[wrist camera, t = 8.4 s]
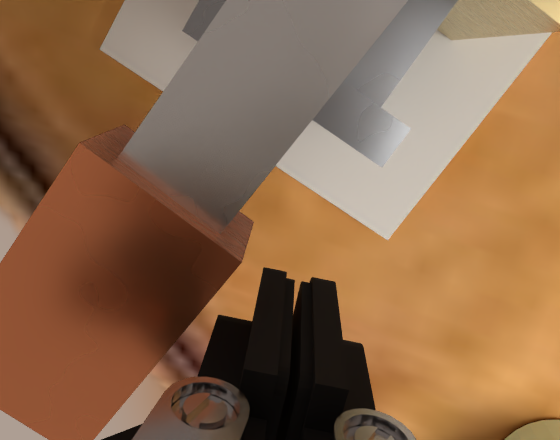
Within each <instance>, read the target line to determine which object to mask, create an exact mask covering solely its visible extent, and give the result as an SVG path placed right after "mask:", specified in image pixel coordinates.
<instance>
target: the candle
mask: <svg viewBox="0 0 560 440" xmlns="http://www.w3.org/2000/svg"><path fill="white" fill-rule="evenodd" d="M505 440H560V420H541V421H537V422H534V423H530V424H527V425H525V426H523V427H521V428H519V429H517V430H515V431H514V432H513V433H511V434H510V435H509V436H508V437H507V438H505Z"/></svg>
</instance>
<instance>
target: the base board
mask: <svg viewBox="0 0 560 440" xmlns="http://www.w3.org/2000/svg"><path fill="white" fill-rule="evenodd" d="M198 1H199V0H125V1H124V3H123V5H122V7H121V8H120V10H119V12H118V14H117V16H116V18H115V20H114V22H113V24H112V26H111V28H110V30H109V32H108V34H107V36H106V38H105V39H104V41H103V43H102V45H101V47H100V50H101V51H103V52H104V53H106V54H107V55H109V56H110V57H112V58H113V59H115V60H116V61H118V62H119V63H121V64H122V65H124V66H125V67H127V68H128V69H130V70H131V71H133V72H134V73H136V74H137V75H139V76H140V77H142V78H143V79H145V80H146V81H148V82H149V83H151V84H152V85H154V86H156V87H157V88H159V89H160V90H162V91H164V90H165V88H166V87H167V86H168V84H169V83H170V81H171V80H172V78H173V77H174V75H175V74H176V73H177V71H178V70H179V68H180V67H181V65H182V64H183V62H184V61H185V59H186V58H187V57H188V55H189V54H190V52H191V51H192V49H193V48H194V46H195V45H196V44H197V42H198V41H196V40H195V39H193V38H192V37H190V36H189V35H188V34H186V33H185V32H183V31H182V30H183V28H184V26H185V25H186V23H187V21H188V19H189V17H190V16H191V14H192V12H193V10H194V9H195V7H196V5H197V3H198ZM551 33H552V32H549V33H537V34H524V35H512V36H499V37H487V38H474V39H462V40H450V39H449V38H448V37H446V36H445V35H444V34H442V33H441V32H440V31H438V30H436V32H435V33H434V34H433V36H432V37H431V39H430V40H429V41H428V43H427V44H426V45H425V47H424V48H423V50H422V51H421V52H420V54H419V55H418V57H417V58H416V59H415V61H414V62H413V64H412V65H411V66H410V68H409V69H408V70H407V72H406V73H405V75H404V76H403V77H402V79H401V80H400V82H399V83H398V84H397V86H396V87H395V89H394V90H393V91H392V93H391V94H390V95H389V97H388V98H387V100H386V101H385V102H384V104H383V105H382V107H381V108H383V109H384V110H386V111H387V112H388V113H390V114H391V115H393V116H394V117H395V118H397V119H398V120H399V121H401V122H402V123H404V124H405V125H406V126H408V127H409V128H411V130H410V131H409V132H408V134H407V135H406V136H405V138H404V139H403V140H402V142H401V143H400V144H399V146H398V147H397V148H396V150H395V151H394V152H393V154H392V155H391V156H390V158H389V159H388V160H387V162H386V163H385V164H384V166H383V167H380V166H379V165H377V164H376V163H374V162H373V161H371V160H370V159H369V158H367V157H366V156H364V155H363V154H361V153H360V152H358V151H357V150H355V149H354V148H352V147H351V146H350V145H348V144H347V143H345V142H344V141H342V140H341V139H339V138H338V137H336V136H335V135H333V134H332V133H331V132H329V131H328V130H326V129H325V128H323V127H322V126H320V125H319V124H317V123H316V122H315V121H313V120H312V121H311V122H310V123H309V125H308V126H307V127H306V128H305V130H304V131H303V132H302V133H301V134H300V136H299V137H298V138H297V139H296V141H295V142H294V143H293V144H292V146H291V147H290V148H289V149H288V151H287V152H286V153H285V154H284V156H283V157H282V158H281V159H280V161H279V162H278V163H277V164H276V167H278V168H279V169H281V170H282V171H284V172H285V173H287V174H288V175H290V176H291V177H293V178H294V179H296V180H297V181H299V182H300V183H302V184H303V185H305V186H306V187H308V188H309V189H311V190H312V191H314V192H315V193H317V194H319V195H320V196H322V197H323V198H325V199H326V200H328V201H329V202H331V203H332V204H334V205H335V206H337V207H338V208H340V209H341V210H343V211H344V212H346V213H347V214H349V215H350V216H352V217H353V218H355V219H356V220H358V221H359V222H361V223H362V224H364V225H365V226H367V227H368V228H370V229H371V230H373V231H374V232H376V233H377V234H379V235H380V236H382V237H383V238H385V239H386V240H388V239H389V238H390V237H391V235H392V234H393V233H394V232H395V230H396V229H397V228H398V226H399V225H400V224H401V223H402V221H403V220H404V219H405V218H406V216H407V215H408V214H409V213H410V211H411V210H412V209H413V208H414V206H415V205H416V204H417V203H418V201H419V200H420V199H421V197H422V196H423V195H424V194H425V192H426V191H427V190H428V189H429V187H430V186H431V185H432V184H433V182H434V181H435V180H436V179H437V177H438V176H439V175H440V173H441V172H442V171H443V170H444V168H445V167H446V166H447V165H448V163H449V162H450V161H451V160H452V158H453V157H454V156H455V155H456V153H457V152H458V151H459V149H460V148H461V147H462V146H463V144H464V143H465V142H466V141H467V139H468V138H469V137H470V136H471V134H472V133H473V132H474V131H475V129H476V128H477V127H478V126H479V124H480V123H481V122H482V120H483V119H484V118H485V117H486V115H487V114H488V113H489V112H490V110H491V109H492V108H493V107H494V105H495V104H496V103H497V102H498V100H499V99H500V98H501V96H502V95H503V94H504V93H505V91H506V90H507V89H508V88H509V86H510V85H511V84H512V83H513V81H514V80H515V79H516V78H517V76H518V75H519V74H520V72H521V71H522V70H523V69H524V67H525V66H526V65H527V64H528V62H529V61H530V60H531V59H532V57H533V56H534V55H535V54H536V52H537V51H538V50H539V49H540V47H541V46H542V45H543V43H544V42H545V41H546V40H547V38H548V37H549V36H550V35H551Z"/></svg>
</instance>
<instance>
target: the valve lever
mask: <svg viewBox="0 0 560 440" xmlns="http://www.w3.org/2000/svg"><path fill="white" fill-rule="evenodd" d="M407 1H408V0H226V2H225V3H224V4H223V6H222V7H221V9H220V10H219V12H218V13H217V15H216V16H215V17H214V19H213V20H212V22H211V23H210V25H209V26H208V28H207V29H206V31H205V32H204V33H203V35H202V36H201V38H200V39H199V41H198V42H197V44H196V45H195V46H194V48H193V49H192V51H191V52H190V54H189V55H188V57H187V58H186V59H185V61H184V62H183V64H182V65H181V67H180V68H179V70H178V71H177V73H176V74H175V75H174V77H173V78H172V80H171V81H170V83H169V84H168V86H167V87H166V88H165V90H164V91H163V93H162V94H161V96H160V97H159V99H158V100H157V101H156V103H155V104H154V106H153V107H152V109H151V110H150V112H149V113H148V115H147V116H146V117H145V119H144V120H143V122H142V123H141V125H140V126H139V128H138V129H137V130H136V132H134V131H132V130H131V129H130V128H128V127H127V126H126V125H122V126H120V127H117V128H115V129H112V130H110V131H107V132H105V133H102V134H100V135H98V136H95V137H93V138H90V139H88V140H85V141H83V142H80V143H79V144H78V146H77V147H76V149H75V150H74V152H73V153H72V155H71V156H70V158H69V159H68V161H67V162H66V164H65V165H64V167H63V168H62V170H61V171H60V173H59V175H58V176H57V178H56V179H55V181H54V182H53V184H52V185H51V187H50V188H49V190H48V191H47V193H46V194H45V196H44V197H43V199H42V200H41V202H40V203H39V205H38V206H37V208H36V210H35V211H34V213H33V214H32V216H31V217H30V219H29V220H28V222H27V223H26V225H25V226H24V228H23V229H22V231H21V232H20V234H19V235H18V237H17V238H16V240H15V242H14V243H13V245H12V246H11V248H10V249H9V251H8V252H7V254H6V255H5V257H4V258H3V260H2V261H1V263H0V410H2V411H3V412H5V413H6V414H8V415H10V416H11V417H13V418H15V419H16V420H18V421H19V422H21V423H23V424H24V425H26V426H27V427H29V428H31V429H32V430H34V431H35V432H37V433H39V434H40V435H42V436H44V437H45V438H47V439H48V440H93V439H95V437H96V436H97V435H98V434H99V432H100V431H101V430H102V429H103V428H104V427H105V425H106V424H107V423H108V422H109V421H110V419H111V418H112V417H113V416H114V415H115V413H116V412H117V411H118V410H119V409H120V407H121V406H122V405H123V404H124V403H125V401H126V400H127V399H128V398H129V397H130V395H131V394H132V393H133V392H134V391H135V389H136V388H137V387H138V386H139V385H140V383H141V382H142V381H143V380H144V379H145V377H146V376H147V375H148V374H149V373H150V372H151V370H152V369H153V368H154V367H155V366H156V364H157V363H158V362H159V361H160V360H161V358H162V357H163V356H164V355H165V354H166V352H167V351H168V350H169V349H170V348H171V346H172V345H173V344H174V343H175V342H176V340H177V339H178V338H179V337H180V336H181V334H182V333H183V332H184V331H185V330H186V328H187V327H188V326H189V325H190V324H191V322H192V321H193V320H194V319H195V318H196V316H197V315H198V314H199V313H200V312H201V311H202V309H203V308H204V307H205V306H206V305H207V303H208V302H209V301H210V300H211V299H212V297H213V296H214V295H215V294H216V293H217V291H218V290H219V289H220V288H221V287H222V285H223V284H224V283H225V282H226V281H227V279H228V278H229V277H230V276H231V275H232V273H233V272H234V271H235V270H236V269H237V267H238V266H239V265H240V264H241V263H242V260H243V257H244V253H245V250H246V246H247V243H248V240H249V236H250V233H251V230H252V226H253V223H254V222H253V221H252V220H250V219H249V218H248V217H246V216H245V215H244V214H242V213H241V212H240V211H239V210H240V209H241V208H242V207H243V205H244V204H245V203H246V202H247V201H248V199H249V198H250V197H251V196H252V194H253V193H254V192H255V191H256V189H257V188H258V187H259V186H260V184H261V183H262V182H263V181H264V179H265V178H266V177H267V176H268V174H269V173H270V172H271V171H272V169H273V168H274V167H275V166H276V164H277V163H278V162H279V161H280V159H281V158H282V157H283V156H284V154H285V153H286V152H287V151H288V149H289V148H290V147H291V146H292V144H293V143H294V142H295V141H296V139H297V138H298V137H299V136H300V134H301V133H302V132H303V131H304V130H305V128H306V127H307V126H308V125H309V123H310V122H311V121H312V120H313V118H314V117H315V116H316V115H317V113H318V112H319V111H320V110H321V108H322V107H323V106H324V105H325V103H326V102H327V101H328V100H329V98H330V97H331V96H332V95H333V93H334V92H335V91H336V90H337V88H338V87H339V86H340V85H341V83H342V82H343V81H344V80H345V78H346V77H347V76H348V75H349V73H350V72H351V71H352V70H353V68H354V67H355V66H356V65H357V63H358V62H359V61H360V60H361V59H362V57H363V56H364V55H365V54H366V52H367V51H368V50H369V49H370V47H371V46H372V45H373V44H374V42H375V41H376V40H377V39H378V37H379V36H380V35H381V34H382V32H383V31H384V30H385V29H386V27H387V26H388V25H389V24H390V22H391V21H392V20H393V19H394V17H395V16H396V15H397V14H398V12H399V11H400V10H401V9H402V7H403V6H404V5H405V4H406V2H407Z"/></svg>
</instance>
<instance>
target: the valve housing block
mask: <svg viewBox="0 0 560 440" xmlns="http://www.w3.org/2000/svg"><path fill="white" fill-rule="evenodd" d="M225 2H226V0H199V1H198V3H197V5H196V7H195V9H194V10H193V12H192V14H191V16H190V17H189V19H188V21H187V23H186V25H185V26H184V28H183V30H182V31H183V32H185V33H186V34H188V35H189V36H190V37H192V38H193V39H195V40H196V41H199V39H200V38H201V36H202V35H203V33H204V32H205V31H206V29H207V28H208V26H209V25H210V23H211V22H212V20H213V19H214V17H215V16H216V15H217V13H218V12H219V10H220V9H221V7H222V6H223V4H224V3H225ZM436 30H438V31H440V32H441V33H442V34H444V35H445V36H446V37H448V38H449V39H450V40H462V39H474V38H487V37H499V36H512V35H524V34H537V33H549V32H560V0H408V1H407V2H406V4H405V5H404V6H403V7H402V9H401V10H400V11H399V12H398V14H397V15H396V16H395V17H394V19H393V20H392V21H391V22H390V24H389V25H388V26H387V27H386V29H385V30H384V31H383V32H382V34H381V35H380V36H379V37H378V39H377V40H376V41H375V42H374V44H373V45H372V46H371V47H370V49H369V50H368V51H367V52H366V54H365V55H364V56H363V57H362V59H361V60H360V61H359V62H358V63H357V65H356V66H355V67H354V68H353V70H352V71H351V72H350V73H349V75H348V76H347V77H346V78H345V80H344V81H343V82H342V83H341V85H340V86H339V87H338V88H337V90H336V91H335V92H334V93H333V95H332V96H331V97H330V98H329V100H328V101H327V102H326V103H325V105H324V106H323V107H322V108H321V110H320V111H319V112H318V113H317V115H316V116H315V117H314V118H313V121H315V122H316V123H317V124H319V125H320V126H322V127H323V128H325V129H326V130H328V131H329V132H331V133H332V134H333V135H335V136H336V137H338V138H339V139H341V140H342V141H344V142H345V143H347V144H348V145H350V146H351V147H352V148H354V149H355V150H357V151H358V152H360V153H361V154H363V155H364V156H366V157H367V158H369V159H370V160H371V161H373V162H374V163H376V164H377V165H379V166H380V167H383V166H384V164H385V163H386V162H387V160H388V159H389V158H390V156H391V155H392V154H393V152H394V151H395V150H396V148H397V147H398V146H399V144H400V143H401V142H402V140H403V139H404V138H405V136H406V135H407V134H408V132H409V131H410V130H411V128H409V127H408V126H406V125H405V124H404V123H402V122H401V121H399V120H398V119H397V118H395V117H394V116H393V115H391V114H390V113H388V112H387V111H386V110H384V109H383V108H381V107H382V105H383V104H384V102H385V101H386V100H387V98H388V97H389V95H390V94H391V93H392V91H393V90H394V89H395V87H396V86H397V84H398V83H399V82H400V80H401V79H402V77H403V76H404V75H405V73H406V72H407V70H408V69H409V68H410V66H411V65H412V64H413V62H414V61H415V59H416V58H417V57H418V55H419V54H420V52H421V51H422V50H423V48H424V47H425V45H426V44H427V43H428V41H429V40H430V39H431V37H432V36H433V34H434V33H435V32H436Z"/></svg>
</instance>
